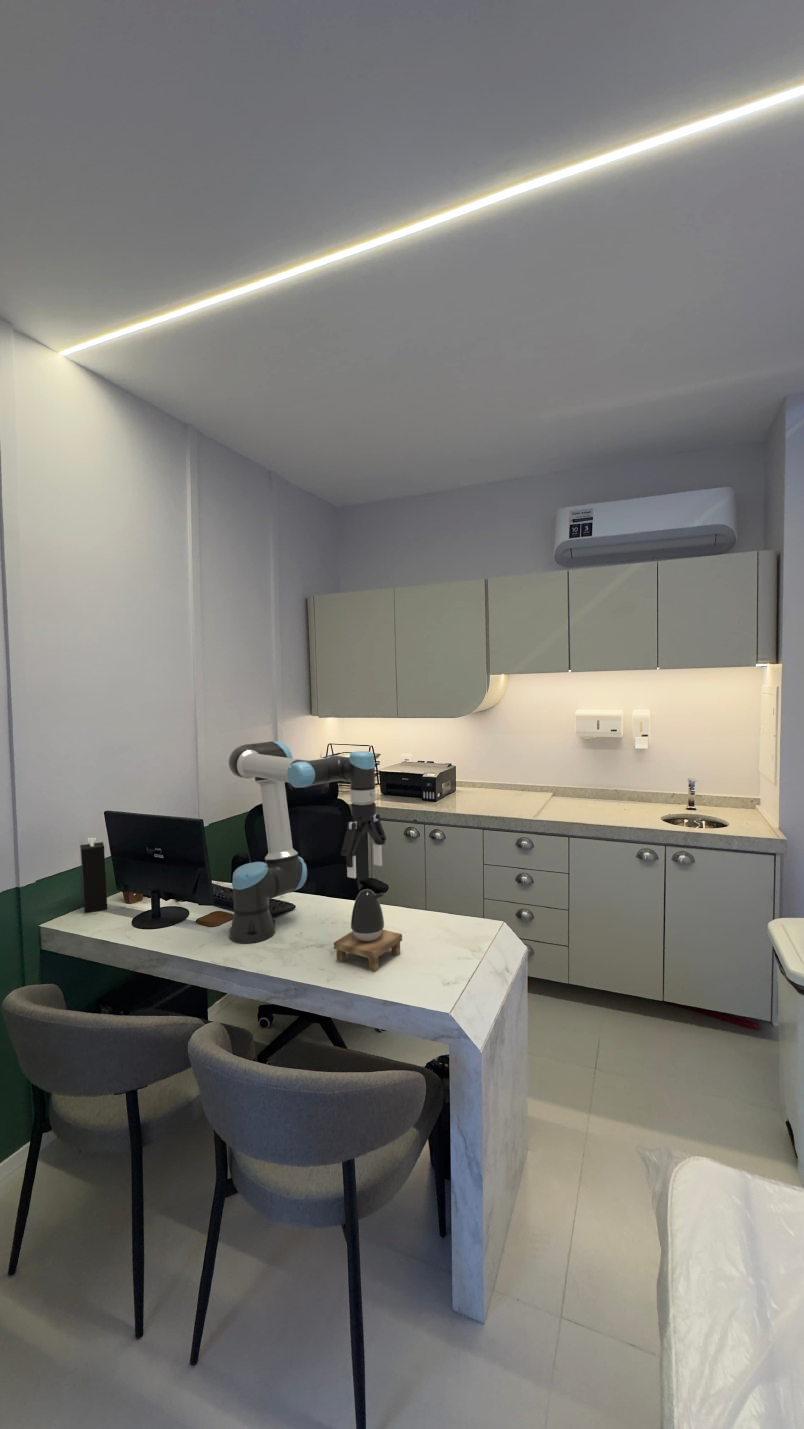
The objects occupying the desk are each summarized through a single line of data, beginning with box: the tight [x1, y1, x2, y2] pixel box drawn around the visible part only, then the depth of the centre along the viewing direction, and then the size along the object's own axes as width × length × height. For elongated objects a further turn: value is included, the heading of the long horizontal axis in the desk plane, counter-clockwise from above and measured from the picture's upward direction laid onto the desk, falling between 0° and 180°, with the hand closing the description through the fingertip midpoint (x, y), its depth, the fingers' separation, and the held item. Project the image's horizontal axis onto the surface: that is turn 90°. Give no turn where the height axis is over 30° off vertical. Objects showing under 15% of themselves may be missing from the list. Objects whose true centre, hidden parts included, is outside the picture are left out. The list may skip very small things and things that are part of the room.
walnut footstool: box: [333, 929, 403, 972], centre depth 186 cm, size 15×15×6 cm
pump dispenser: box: [350, 888, 385, 942], centre depth 186 cm, size 10×10×15 cm
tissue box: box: [79, 837, 108, 914], centre depth 235 cm, size 8×8×28 cm
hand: (365, 871), depth 186 cm, fingers open, 13 cm apart
